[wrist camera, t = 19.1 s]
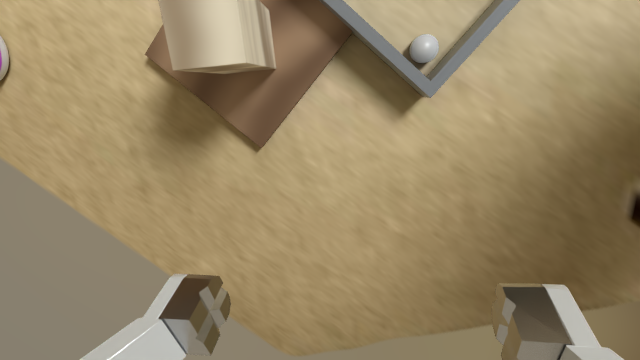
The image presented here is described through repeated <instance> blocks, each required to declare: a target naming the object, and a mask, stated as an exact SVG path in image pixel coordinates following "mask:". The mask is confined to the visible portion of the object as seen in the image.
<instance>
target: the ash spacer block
mask: <svg viewBox="0 0 640 360" xmlns="http://www.w3.org/2000/svg"><path fill="white" fill-rule="evenodd" d="M158 1H159V6H160V11H161V15H162V20H163V25H164V30H165V34H166V39H167V44H168V49H169V53H170V58H171V63H172V68H173V70H174V71H189V72H203V73H218V74H230V73H239V72H249V71H258V70H268V69H276V62H275V54H274V46H273V38H272V30H271V22H270V14H269V10H268V9H267V8H266V7H265V6H264V5H263V4H262V3H261V2H260V1H259V0H158Z"/></svg>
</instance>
